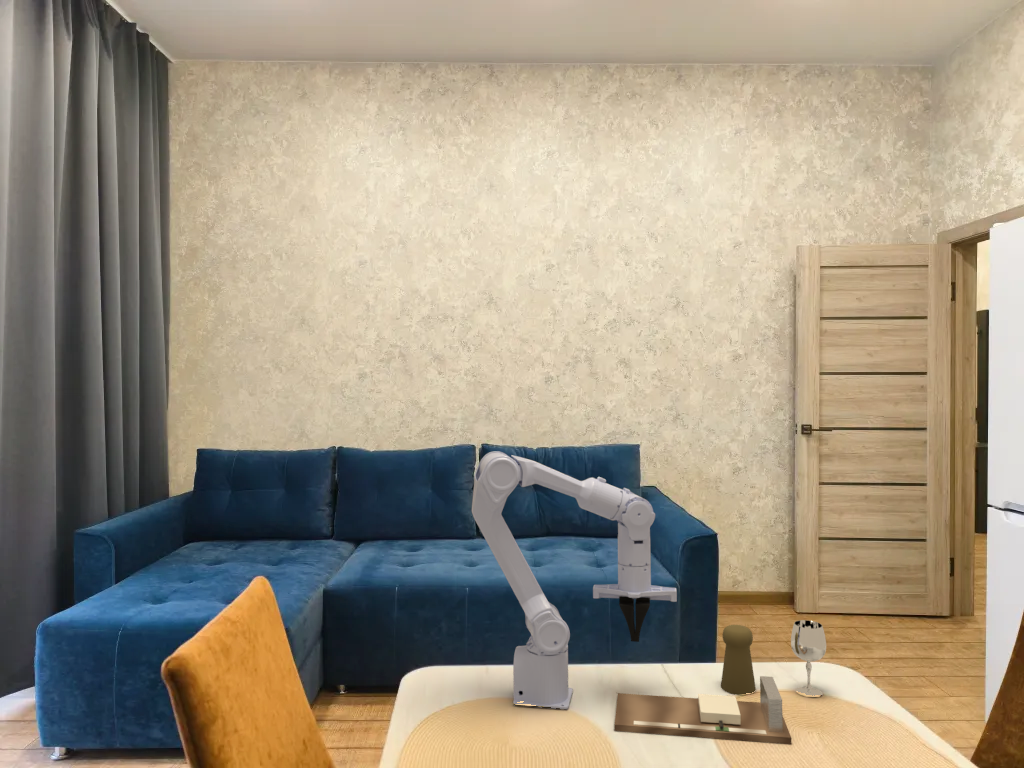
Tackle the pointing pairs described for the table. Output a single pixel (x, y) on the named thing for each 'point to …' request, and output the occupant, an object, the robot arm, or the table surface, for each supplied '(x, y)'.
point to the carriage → (719, 709)
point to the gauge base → (691, 719)
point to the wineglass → (808, 648)
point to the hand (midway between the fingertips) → (635, 639)
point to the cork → (737, 661)
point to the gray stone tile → (771, 704)
